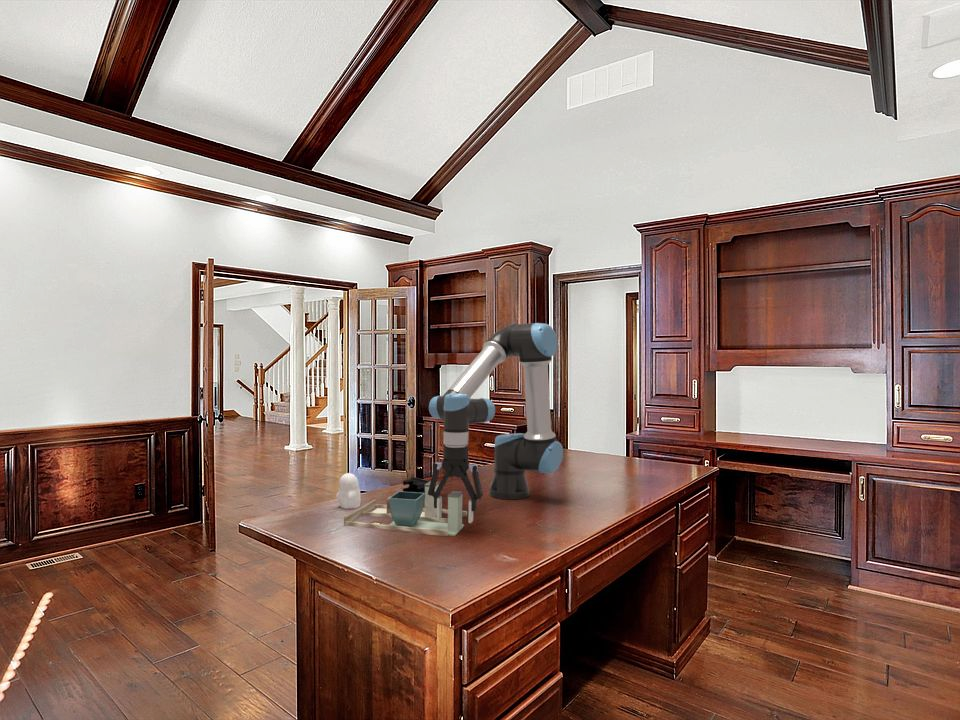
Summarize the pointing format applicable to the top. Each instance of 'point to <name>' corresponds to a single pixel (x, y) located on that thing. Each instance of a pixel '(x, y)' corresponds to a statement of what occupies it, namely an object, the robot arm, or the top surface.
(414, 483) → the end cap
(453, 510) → the sage strip
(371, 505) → the lane frame
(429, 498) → the cream strip
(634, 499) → the top surface
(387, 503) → the walnut block
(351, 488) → the figurine
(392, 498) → the flower pot
